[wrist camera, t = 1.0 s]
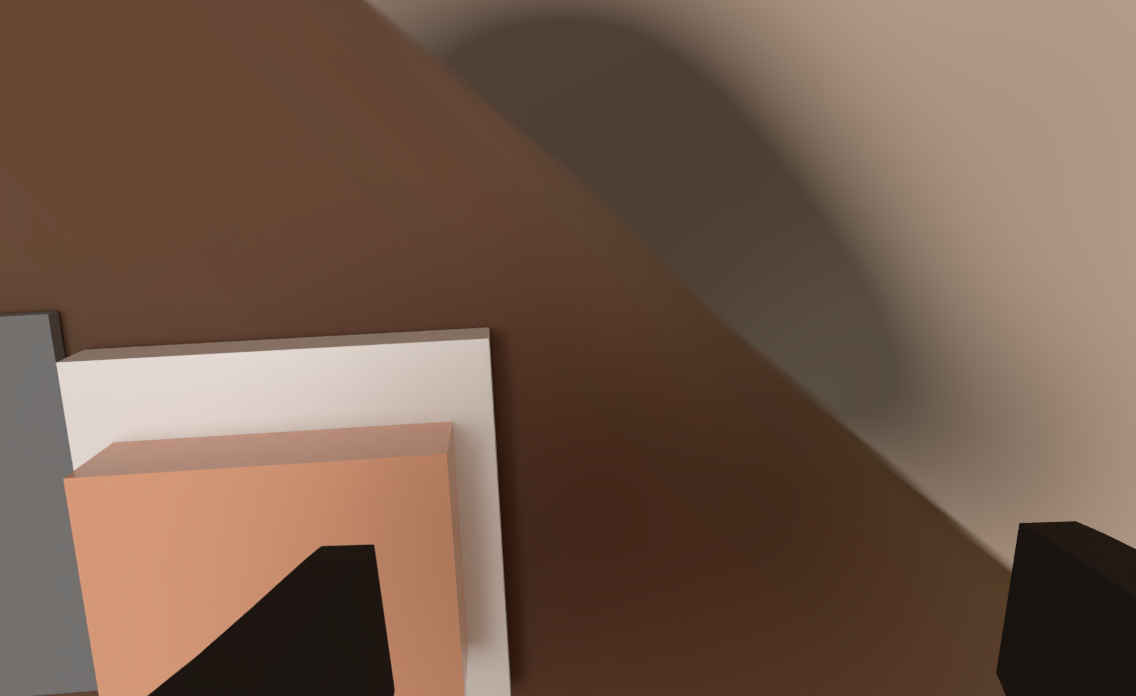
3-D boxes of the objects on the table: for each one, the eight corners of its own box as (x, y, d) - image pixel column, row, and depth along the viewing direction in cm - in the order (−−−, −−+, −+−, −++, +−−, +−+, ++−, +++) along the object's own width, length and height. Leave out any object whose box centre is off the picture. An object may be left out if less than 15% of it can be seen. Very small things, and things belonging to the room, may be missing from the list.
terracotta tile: (467, 646, 23) (465, 703, 20) (147, 671, 22) (105, 733, 20) (452, 421, 22) (447, 454, 19) (112, 442, 21) (63, 478, 19)
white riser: (510, 680, 25) (511, 712, 23) (141, 710, 24) (118, 745, 23) (489, 327, 23) (488, 338, 21) (85, 349, 22) (55, 362, 21)
